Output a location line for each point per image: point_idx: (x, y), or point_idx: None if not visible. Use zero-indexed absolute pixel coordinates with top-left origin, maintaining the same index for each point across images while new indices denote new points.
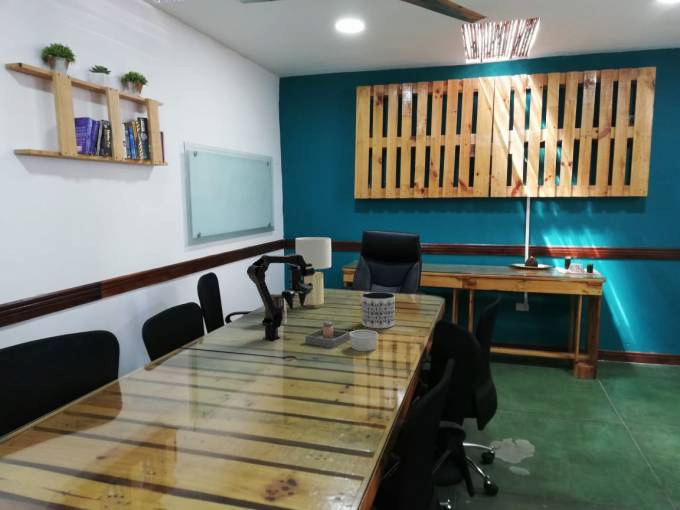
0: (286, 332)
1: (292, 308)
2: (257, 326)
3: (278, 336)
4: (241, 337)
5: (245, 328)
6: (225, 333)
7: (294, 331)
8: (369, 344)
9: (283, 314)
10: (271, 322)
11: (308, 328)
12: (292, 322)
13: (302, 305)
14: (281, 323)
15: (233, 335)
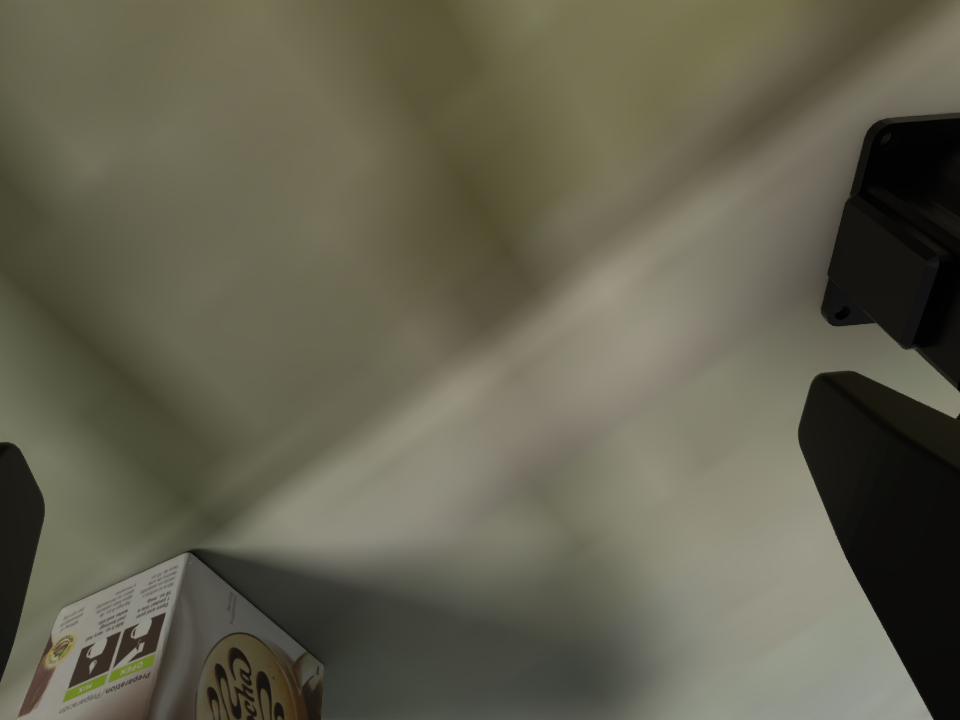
0: (525, 260)
1: (868, 389)
2: (483, 684)
3: (869, 172)
4: None
5: (615, 704)
6: (849, 702)
7: (395, 187)
8: None
9: (163, 703)
10: (307, 672)
11: (30, 87)
12: None
13: (1, 468)
14: (218, 587)
15: None
